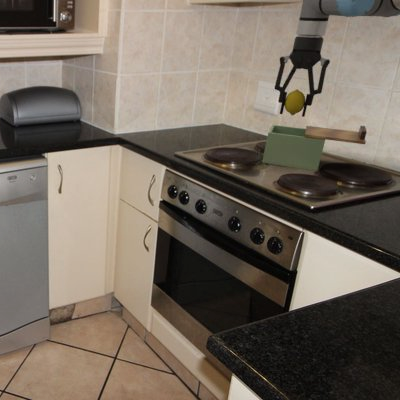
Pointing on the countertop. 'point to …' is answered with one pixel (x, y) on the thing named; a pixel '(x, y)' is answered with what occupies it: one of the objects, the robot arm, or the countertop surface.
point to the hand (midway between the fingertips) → (292, 114)
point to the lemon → (294, 102)
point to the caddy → (292, 148)
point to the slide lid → (337, 134)
